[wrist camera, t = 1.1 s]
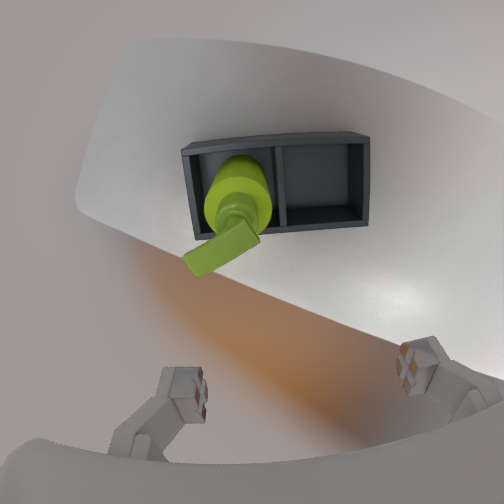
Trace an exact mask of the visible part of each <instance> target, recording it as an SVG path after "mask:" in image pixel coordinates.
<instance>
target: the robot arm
mask: <svg viewBox="0 0 504 504" xmlns="http://www.w3.org/2000/svg"><path fill="white" fill-rule="evenodd" d="M400 351H401V354H400V355H399V357H398V358H397V362H396V369H397V373H398V376H399V378H400V379H402V380H404V384H403V387H404V389H405V391H406V393H407V395H408V397H411V396H415V395H419V394H423V393H425V394H426V395H427V396H429V397H430V398H431V399H432V400H434V401H435V402H436V403H438V404H439V405H440V406H441V407H443V408H444V409H445V410H446V411H448V412H449V413H450V414H451V415H453V417H452V418H451V420H450V421H449V423H448V424H447V425H445V426H442V427H439V428H436V429H433V430H430V431H427V432H424V433H421V434H418V435H415V436H412V437H408V438H405V439H401V440H398V441H394V442H391V443H386V444H383V445H378V446H375V447H370V448H365V449H361V450H356V451H351V452H346V453H341V454H335V455H329V456H323V457H316V458H309V459H301V460H293V461H282V462H272V463H254V464H188V463H187V464H186V463H172V462H169V461H168V460H167V459H166V457H165V456H164V455H163V453H162V452H163V451H164V449H165V448H166V447H167V446H168V445H169V443H170V442H171V441H172V440H173V439H174V437H175V436H176V435H177V434H178V432H179V431H180V430H181V429H182V427H183V426H184V424H187V423H188V424H194V423H195V424H197V423H205V418H206V408H205V405H204V404H205V403H206V402H207V399H208V389H207V384H206V380H205V379H203V371H202V368H201V367H164V368H163V370H162V373H161V377H160V381H159V384H158V388H157V392H156V396H155V397H151V398H150V399H149V400H148V401H147V402H146V403H145V404H144V405H143V406H141V407H140V408H139V409H138V410H137V411H136V412H135V413H134V414H132V415H131V416H130V417H129V418H128V419H127V420H126V421H124V422H123V423H122V424H121V425H120V426H119V427H118V428H116V429H115V431H114V434H113V437H112V440H111V444H110V447H109V450H108V454H103V453H98V452H93V451H88V450H83V449H79V448H74V447H70V446H66V445H63V444H58V443H55V442H51V441H48V440H45V439H41V438H34V439H32V440H29V441H28V442H26V443H25V444H23V445H21V446H20V447H18V448H17V449H15V450H14V451H12V452H11V453H10V454H9V455H8V456H7V458H6V459H5V461H4V463H3V464H2V466H1V468H0V504H504V399H503V397H502V396H501V394H500V392H499V391H498V389H497V387H496V386H495V384H494V383H493V381H492V380H490V379H488V378H486V377H484V376H482V375H480V374H479V373H477V372H475V371H473V370H471V369H469V368H468V367H466V366H464V365H462V364H460V363H458V362H456V361H455V360H450V359H449V357H448V355H447V354H446V352H445V351H444V349H443V348H442V346H441V345H440V343H439V341H438V340H437V338H436V337H435V336H430V337H426V338H421V339H417V340H413V341H408V342H404V343H402V345H401V347H400Z"/></svg>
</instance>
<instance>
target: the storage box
mask: <svg viewBox="0 0 504 504" xmlns="http://www.w3.org/2000/svg"><path fill="white" fill-rule="evenodd" d="M181 154H182V161H183V168H184V175H185V181H186V188H187V194H188V200H189V207H190V213H191V219H192V225H193V230H194V236H195V240H207V239H211V238H213V237H214V236H216V235H218V234H217V233H215V232H214V231H213V230H212V229H211V227H210V226H209V224H208V223H207V220H206V218H205V214H204V203H205V199H206V196H207V194H208V192H209V190H210V187H211V185H212V183H213V181H214V179H215V177H216V174H217V172H218V170H219V168H220V166H221V165H222V163H223V162H224V161H225V160H226V159H228V158H229V157H231V156H234V155H239V154H243V155H248V156H251V157H253V158H254V159H256V160H257V161H258V162H259V163H260V164H261V166H262V168H263V171H264V174H265V178H266V182H267V186H268V190H269V194H270V199H271V203H272V215H271V218H270V221H269V223H268V225H267V226H266V228H265V229H264V230H263V231H262V232H261V233H260V234H258V235H262V234H274V233H286V232H298V231H310V230H323V229H336V228H349V227H362V226H368V222H369V200H370V137H369V136H365V135H362V134H358V133H354V132H309V133H287V134H272V135H259V136H247V137H237V138H227V139H218V140H210V141H202V142H195V143H191V144H189V145H188V146H186V147H185V148H183V149H181Z"/></svg>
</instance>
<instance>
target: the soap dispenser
mask: <svg viewBox="0 0 504 504" xmlns="http://www.w3.org/2000/svg"><path fill="white" fill-rule="evenodd" d="M204 214H205V218H206V220H207V223H208V224H209V226H210V227H211V229H212V230H213V231H214V232H215V233H217V234H218V235H216V236H214V237H213V238H211V239H210V240H208V241H206V242H205V243H203V244H202V245H200V246H198V247H196V248H195V249H193V250H191V251H189V252H187V253H186V254H185V255H184V256H183V257H182V258H181V259H182V260H183V262H184V263H185V264H186V265H187V267H188V268H189V269H190V270H191V272H192V273H193V274H194V275H195V276H196V277H199V276H202V275H204V274H206V273H208V272H210V271H213V270H215V269H217V268H219V267H221V266H222V265H224V264H226V263H228V262H229V261H231V260H233V259H234V258H236V257H238V256H239V255H241V254H243V253H244V252H246V251H247V250H249V249H251V248H252V247H254V246H255V245H257V244H259V243H260V239H259V237H258V236H257V235H258V234H260V233H261V232H262V231H263V230H264V229H265V228H266V226H267V225H268V223H269V221H270V218H271V215H272V203H271V199H270V194H269V190H268V186H267V182H266V178H265V174H264V171H263V168H262V166H261V164H260V163H259V162H258V161H257V160H256V159H254V158H253V157H251V156H248V155H243V154H239V155H234V156H231V157H229V158H228V159H226V160H225V161H224V162H223V163H222V165H221V166H220V168H219V170H218V172H217V174H216V177H215V179H214V181H213V183H212V185H211V187H210V190H209V192H208V194H207V196H206V199H205V203H204Z"/></svg>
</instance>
